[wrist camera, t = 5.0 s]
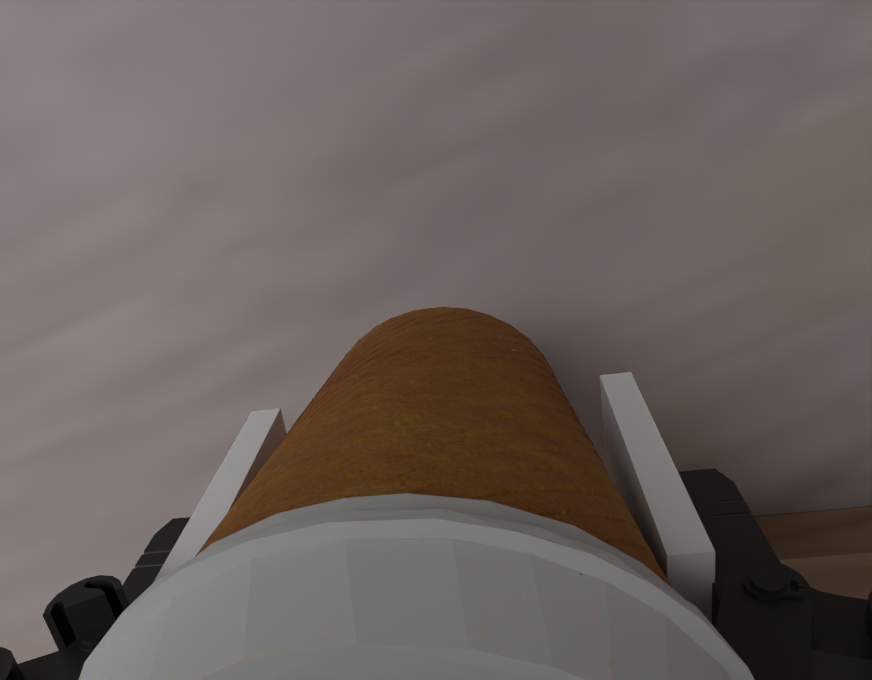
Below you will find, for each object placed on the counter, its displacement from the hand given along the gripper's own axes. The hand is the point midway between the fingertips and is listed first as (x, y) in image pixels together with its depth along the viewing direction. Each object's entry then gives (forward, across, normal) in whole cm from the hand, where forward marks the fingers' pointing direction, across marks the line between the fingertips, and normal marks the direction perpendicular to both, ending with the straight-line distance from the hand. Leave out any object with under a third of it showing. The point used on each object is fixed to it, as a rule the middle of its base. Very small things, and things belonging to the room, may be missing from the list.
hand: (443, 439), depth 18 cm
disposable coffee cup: (+2, 0, 0) cm, 2 cm away
